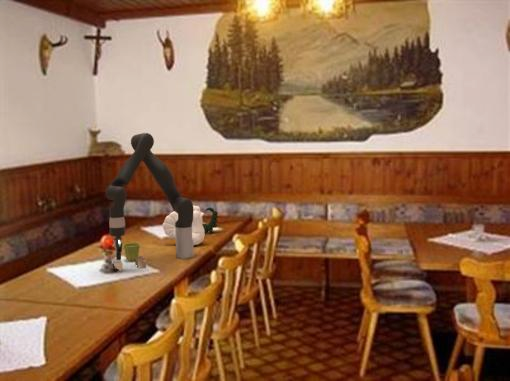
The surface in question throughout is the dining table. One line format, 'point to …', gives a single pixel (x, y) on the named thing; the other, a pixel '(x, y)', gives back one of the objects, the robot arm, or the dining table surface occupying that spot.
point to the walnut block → (140, 262)
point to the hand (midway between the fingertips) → (118, 259)
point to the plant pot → (131, 250)
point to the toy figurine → (213, 222)
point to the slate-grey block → (118, 264)
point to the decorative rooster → (196, 225)
